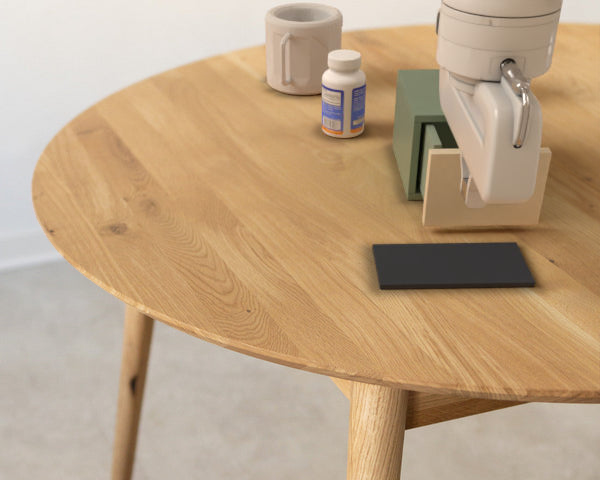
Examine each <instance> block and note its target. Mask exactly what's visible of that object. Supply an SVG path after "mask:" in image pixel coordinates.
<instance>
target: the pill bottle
mask: <svg viewBox="0 0 600 480" xmlns="http://www.w3.org/2000/svg"><path fill="white" fill-rule="evenodd" d="M328 67H329V68H330V69H328V70H326V71H325V72H324V74H323V76H322V93H321V130H322V132H323V133H324V134H325V135H327V136H329V137H332V138H338V139H349V138H354V137H358V136H360V135H361V134H362V133H363V132H364V130H365V118H366V117H365V116H366V95H367V93H366V92H367V75H366V73H365V72H364V71H363V70H362V69H360V68H361V67H362V54H361V53H360V52H359V51H357V50H353V49H345V48H343V49H342V48H341V50H335V51H332V52H330V53H329V54H328Z"/></svg>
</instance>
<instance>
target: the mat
mask: <svg viewBox="0 0 600 480" xmlns="http://www.w3.org/2000/svg"><path fill="white" fill-rule="evenodd" d="M371 246H372V253H373V259H374V265H375V271H376V276H377V281H378V286H379V289H380V290H406V289H407V290H410V289H469V288H470V289H473V288H476V289H477V288H478V289H479V288H524V287H525V288H535V287H536V280H535V278H534V276H533V273H532V272H531V270H530V268H529V266H528V264H527V261H526V259H525V257H524V255H523V253H522V251H521V249H520V246H519V244H518V242H516V241H507V242H504V241H503V242H502V241H501V242H498V241H497V242H438V243H436V242H435V243H380V244H379V243H373V244H372V245H371Z"/></svg>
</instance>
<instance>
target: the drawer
mask: <svg viewBox="0 0 600 480" xmlns="http://www.w3.org/2000/svg"><path fill="white" fill-rule="evenodd" d="M421 123H422V124H421V135H420V146H419V157H418V167H417V181H418V184H419V187H420V190H421V193H422V197H423V200H422V201H423V205H422V216H421V222H422V225H423V227H474V226H475V227H477V226H478V227H479V226H483V227H485V226H537V225H539V221H540V217H541V216H540V215H541V211H542V206H543V200H544V197H545V191H546V185H547V181H548V180H547V179H548V175H549V170H550V165H551V160H552V156H553V152H552V150H551V149H550V147H549V146H547V147H540V155H539V163H538V170H537V177H536V183H535V189H534V192H533V194H532V196H531V198H530V199H529V200H528V202H526V203H524V204H509V205H497V204H487V205H486V207H484V208H482V209H469V208H468V207H467V206H466V204H465V200H464V198H463V196H462V194H461V191H460V184H461V176H462V174H461V161H460V149H459V147H458V144H457V142H456V140H455V138H454V136H453V133H452V131H451V129H450V127H449V124H448V122H421Z"/></svg>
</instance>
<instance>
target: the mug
mask: <svg viewBox="0 0 600 480" xmlns="http://www.w3.org/2000/svg"><path fill="white" fill-rule="evenodd" d="M343 21H344V16H343V13H342V11H341V10H339V9H338V8H336V7H333V6H332V5H327V4H323V3H315V2H293V3H285V4H280V5H277V6H275V7H272V8H270V9H269V10H267V11H266V13H265V15H264V29H265V31H264V32H265V64H266V65H265V67H266V68H265V69H266V71H265V73H266V82H267V84H268V85H269V87H271V88H272V89H273V90H275V91H277V92H280V93H283V94H288V95H294V96H295V95H296V96H311V95H312V96H313V95H319V94H322V76H323V74H324V72H325V71H326V70H328V69H330V68H329V67H328V54H329V53H330V52H332V51H335V50H341V49H342V35H343V27H344V26H343V25H344V24H343V23H344V22H343Z"/></svg>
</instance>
